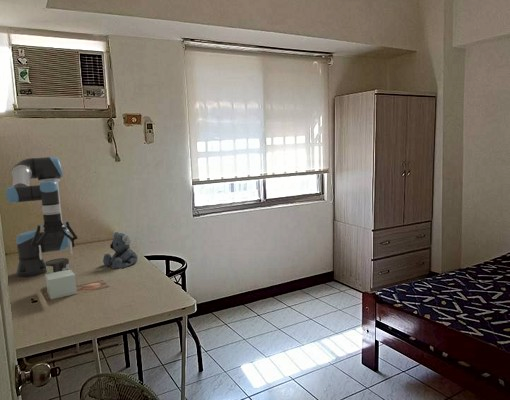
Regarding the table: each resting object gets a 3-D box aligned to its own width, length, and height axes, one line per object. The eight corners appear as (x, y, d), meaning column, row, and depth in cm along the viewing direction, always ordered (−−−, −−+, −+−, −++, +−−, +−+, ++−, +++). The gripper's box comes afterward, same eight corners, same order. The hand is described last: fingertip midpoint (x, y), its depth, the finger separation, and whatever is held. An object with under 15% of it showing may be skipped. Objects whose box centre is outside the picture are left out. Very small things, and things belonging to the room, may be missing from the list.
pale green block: (47, 292, 190) (45, 274, 189) (72, 287, 197) (70, 269, 195) (50, 299, 181) (48, 280, 180) (77, 293, 188) (75, 274, 186)
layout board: (43, 295, 191) (43, 292, 190) (103, 282, 206) (102, 279, 205) (47, 304, 180) (47, 300, 180) (110, 289, 195) (109, 286, 195)
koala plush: (101, 265, 238) (98, 232, 235) (130, 258, 250) (127, 227, 248) (115, 271, 225) (111, 236, 223) (144, 263, 238) (141, 230, 235)
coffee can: (75, 284, 205) (72, 257, 203) (65, 292, 195) (62, 263, 193) (55, 285, 205) (52, 258, 203) (44, 292, 195) (41, 264, 193)
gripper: (22, 217, 185) (28, 263, 188) (81, 210, 199) (85, 253, 201) (21, 216, 191) (26, 259, 194) (77, 209, 205) (82, 250, 208)
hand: (56, 256), depth 198 cm, fingers open, 13 cm apart
